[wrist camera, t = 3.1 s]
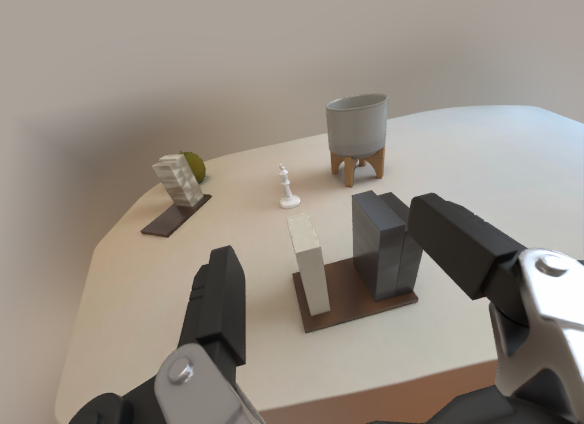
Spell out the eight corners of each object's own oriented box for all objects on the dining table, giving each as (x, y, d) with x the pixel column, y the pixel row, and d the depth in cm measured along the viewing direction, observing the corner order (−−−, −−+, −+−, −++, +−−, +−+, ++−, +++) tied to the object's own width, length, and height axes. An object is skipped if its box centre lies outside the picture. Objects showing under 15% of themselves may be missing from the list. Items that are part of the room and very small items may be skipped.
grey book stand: (305, 333, 27) (284, 264, 20) (292, 276, 35) (274, 210, 27) (417, 302, 28) (439, 223, 20) (382, 252, 35) (388, 181, 28)
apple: (175, 186, 73) (158, 155, 67) (200, 173, 78) (186, 143, 72) (189, 192, 67) (172, 159, 61) (215, 178, 72) (201, 146, 66)
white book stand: (168, 237, 50) (132, 187, 42) (141, 233, 53) (104, 186, 46) (211, 196, 62) (190, 152, 54) (188, 195, 66) (165, 153, 58)
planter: (387, 165, 58) (393, 91, 48) (376, 190, 50) (380, 106, 40) (341, 162, 65) (337, 96, 54) (323, 184, 56) (315, 111, 46)
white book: (311, 316, 28) (295, 253, 21) (301, 279, 33) (286, 217, 26) (330, 310, 28) (320, 246, 21) (317, 274, 33) (306, 212, 26)
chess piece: (293, 194, 55) (285, 157, 49) (304, 202, 51) (297, 163, 45) (276, 202, 53) (266, 165, 48) (286, 211, 50) (276, 171, 44)
